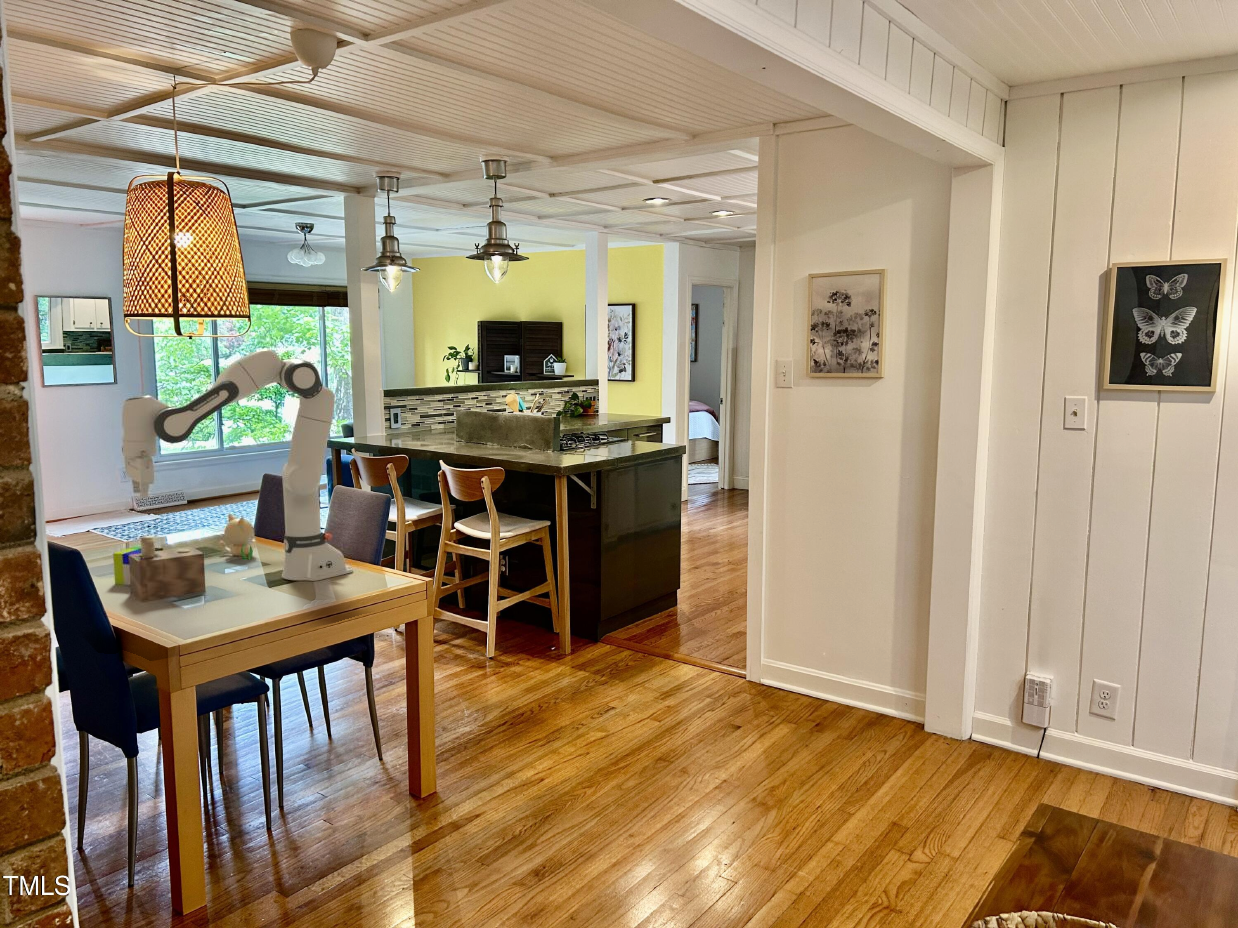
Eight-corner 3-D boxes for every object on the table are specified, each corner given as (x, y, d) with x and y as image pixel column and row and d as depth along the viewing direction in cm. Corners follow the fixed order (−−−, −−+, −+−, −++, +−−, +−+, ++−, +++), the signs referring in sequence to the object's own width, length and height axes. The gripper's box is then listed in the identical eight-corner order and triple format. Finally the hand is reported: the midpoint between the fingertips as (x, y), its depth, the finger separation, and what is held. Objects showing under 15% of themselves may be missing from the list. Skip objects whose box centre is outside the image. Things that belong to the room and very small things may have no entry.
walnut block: (193, 583, 281) (191, 545, 279) (205, 591, 272) (203, 552, 271) (131, 593, 269) (128, 553, 267) (141, 601, 260) (139, 561, 259)
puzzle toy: (142, 585, 277) (140, 555, 276) (115, 583, 279) (113, 553, 278) (164, 578, 287) (163, 548, 286) (138, 576, 289) (136, 546, 288)
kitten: (264, 556, 318) (262, 515, 316) (237, 561, 310) (235, 519, 308) (245, 549, 328) (243, 510, 326) (218, 554, 320) (216, 514, 318)
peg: (154, 572, 269) (152, 535, 267) (157, 574, 266) (155, 537, 265) (141, 573, 267) (139, 536, 265) (144, 576, 264) (142, 538, 262)
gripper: (159, 453, 256) (160, 499, 258) (143, 446, 272) (144, 490, 274) (135, 453, 252) (136, 501, 254) (120, 446, 268) (121, 491, 269)
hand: (140, 495), depth 264 cm, fingers open, 8 cm apart
